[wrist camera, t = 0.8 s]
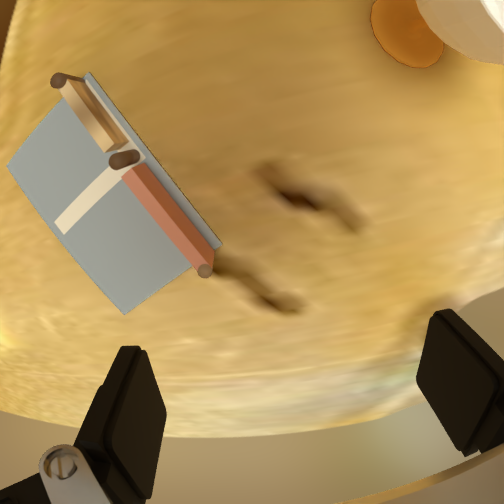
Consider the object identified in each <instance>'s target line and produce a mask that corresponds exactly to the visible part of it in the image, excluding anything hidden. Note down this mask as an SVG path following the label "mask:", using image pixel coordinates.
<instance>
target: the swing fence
mask: <svg viewBox="0 0 504 504" xmlns="http://www.w3.org/2000/svg"><path fill="white" fill-rule="evenodd" d="M121 178H122V179H123V181H124V182H125V183H126V185H127V186H128V187H129V188H130V190H131V191H132V192H133V194H134V195H135V196H136V197H137V199H138V200H139V201H140V202H141V204H142V205H143V206H144V207H145V209H146V210H147V211H148V212H149V214H150V215H151V216H152V217H153V219H154V220H155V221H156V222H157V224H158V225H159V226H160V227H161V228H162V230H163V231H164V232H165V233H166V235H167V236H168V237H169V238H170V239H171V241H172V242H173V243H174V244H175V245H176V247H177V248H178V249H179V250H180V251H181V253H182V254H183V255H184V256H185V257H186V259H187V260H188V261H189V262H190V263H191V265H192V266H193V267H194V268H195V269H196V270H197V272H198V274H199V276H200V277H202V278H208V277H210V276H211V274H212V268H213V262H214V255H215V251H214V250H213V249H212V247H211V246H210V245H209V244H208V242H207V241H206V240H205V239H204V237H203V236H202V235H201V234H200V232H199V231H198V230H197V229H196V227H195V226H194V225H193V224H192V222H191V221H190V220H189V219H188V217H187V216H186V215H185V214H184V212H183V211H182V210H181V209H180V207H179V206H178V205H177V204H176V202H175V201H174V200H173V199H172V197H171V196H170V195H169V193H168V192H167V191H166V190H165V188H164V187H163V186H162V185H161V183H160V182H159V181H158V179H157V178H156V177H155V176H154V174H153V173H152V172H151V170H150V169H149V168H148V167H147V165H146V164H145V163H142V164H140V165H137V166H135V167H132V168H131V169H129V170H128V171H127V172H126V173H125V174H124V175H123V176H122V177H121Z"/></svg>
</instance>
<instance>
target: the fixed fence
mask: <svg viewBox="0 0 504 504" xmlns="http://www.w3.org/2000/svg"><path fill="white" fill-rule="evenodd" d="M50 84H51V86H52V87H53V88H57V89H58V90H59V92H60V93H61V94H62V96H63V97H64V99H65V100H66V101H67V103H68V104H69V106H70V107H71V109H72V110H73V111H74V113H75V114H76V115H77V117H78V118H79V120H80V121H81V122H82V124H83V125H84V126H85V128H86V129H87V131H88V132H89V133H90V135H91V136H92V137H93V139H94V140H95V141H96V143H97V144H98V145H99V147H100V148H101V149H102V151H103V152H104V153H106V152H111V151H115V150H120V149H121V148H122V147H123V146H125V145H126V144H127V143H128V142H129V140H128V139H127V138H126V136H125V135H124V134H123V132H122V131H121V130H120V128H119V127H118V126H117V124H116V123H115V122H114V120H113V119H112V118H111V117H110V115H109V114H108V113H107V111H106V110H105V109H104V107H103V106H102V105H101V103H100V102H99V101H98V99H97V98H96V96H95V95H94V94H93V92H92V91H91V90H90V88H89V87H88V86H87V84H86V82H85V80H84V79H82V78H79V77H75V76H71V75H67V74H63V73H55V74H54V75H53V76H52V78H51V81H50ZM139 160H140V153H139V152H138V151H137V150H135V149H131V150H127V151H123V152H118V153H114V154H112V155H111V156H110V158H109V166H110V167H111V168H112V169H113V170H120V169H122V168H125V167H127V166H130V165H133V164H135V163H137V162H138V161H139Z"/></svg>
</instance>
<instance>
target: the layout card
mask: <svg viewBox="0 0 504 504" xmlns="http://www.w3.org/2000/svg"><path fill="white" fill-rule="evenodd" d="M82 79H84V80H85V82H86V84H87V86H88V87H89V88H90V90H91V91H92V92H93V94H94V95H95V96H96V98H97V99H98V101H99V102H100V103H101V105H102V106H103V107H104V109H105V110H106V111H107V113H108V114H109V115H110V117H111V118H112V119H113V120H114V122H115V123H116V124H117V126H118V127H119V128H120V130H121V131H122V132H123V134H124V135H125V136H126V138H127V139H128V140H129V142H128V143H127V144H126V145H125V146H123V147H122V148H121V149H120V150H115V151H111V152H106V153H104V152H103V151H102V149H101V148H100V147H99V145H98V144H97V143H96V141H95V140H94V139H93V137H92V136H91V135H90V133H89V132H88V131H87V129H86V128H85V126H84V125H83V124H82V122H81V121H80V120H79V118H78V117H77V115H76V114H75V113H74V111H73V110H72V109H71V107H70V106H69V104H68V103H67V101H66V100H65V99H64V97H63V98H62V99H61V100H60V101H59V102H58V103H57V104H56V106H55V107H54V108H53V109H52V110H51V111H50V112H49V113H48V114H47V116H46V117H45V118H44V119H43V120H42V121H41V122H40V124H39V125H38V126H37V127H36V128H35V130H34V131H33V132H32V133H31V134H30V136H29V137H28V138H27V139H26V141H25V142H24V143H23V144H22V146H21V147H20V148H19V149H18V151H17V152H16V153H15V155H14V156H13V157H12V159H11V160H10V162H9V163H8V164H7V168H8V169H9V171H10V173H11V174H12V176H13V177H14V179H15V180H16V182H17V183H18V185H19V186H20V188H21V189H22V190H23V192H24V193H25V195H26V196H27V198H28V199H29V201H30V202H31V203H32V205H33V206H34V208H35V209H36V210H37V212H38V213H39V214H40V216H41V217H42V218H43V220H44V221H45V222H46V224H47V225H48V226H49V228H50V229H51V230H52V232H53V233H54V234H55V236H56V237H57V238H58V239H59V241H60V242H61V243H62V244H63V246H64V247H65V248H66V249H67V251H68V252H69V253H70V254H71V256H72V257H73V258H74V259H75V260H76V262H77V263H78V264H79V265H80V266H81V268H82V269H83V270H84V271H85V272H86V273H87V275H88V276H89V277H90V278H91V279H92V280H93V282H94V283H95V284H96V285H97V286H98V287H99V288H100V289H101V291H102V292H103V293H104V294H105V295H106V296H107V297H108V298H109V299H110V301H111V302H112V303H113V304H114V305H115V306H116V307H117V308H118V309H119V310H120V311H121V312H122V313H123V314H124V315H125V314H126V313H128V312H129V311H131V310H132V309H133V308H135V307H136V306H137V305H139V304H140V303H142V302H143V301H144V300H146V299H147V298H148V297H150V296H151V295H153V294H154V293H155V292H157V291H158V290H159V289H161V288H162V287H164V286H165V285H166V284H168V283H169V282H171V281H172V280H173V279H175V278H176V277H177V276H179V275H180V274H182V273H183V272H184V271H186V270H187V269H189V268H190V267H191V266H192V265H191V263H190V262H189V261H188V260H187V259H186V257H185V256H184V255H183V254H182V253H181V251H180V250H179V249H178V248H177V247H176V245H175V244H174V243H173V242H172V241H171V239H170V238H169V237H168V236H167V235H166V233H165V232H164V231H163V230H162V228H161V227H160V226H159V225H158V224H157V222H156V221H155V220H154V219H153V217H152V216H151V215H150V214H149V212H148V211H147V210H146V209H145V207H144V206H143V205H142V204H141V202H140V201H139V200H138V199H137V197H136V196H135V195H134V194H133V192H132V191H131V190H130V188H129V187H128V186H127V185H126V183H125V182H124V181H123V179H122V178H121V177H122V176H123V175H124V174H125V173H126V172H127V171H128V170H129V169H131V168H132V167H135V166H137V165H140V164H142V163H145V164H146V165H147V167H148V168H149V169H150V170H151V172H152V173H153V174H154V176H155V177H156V178H157V179H158V181H159V182H160V183H161V185H162V186H163V187H164V188H165V190H166V191H167V192H168V193H169V195H170V196H171V197H172V199H173V200H174V201H175V202H176V204H177V205H178V206H179V207H180V209H181V210H182V211H183V212H184V214H185V215H186V216H187V217H188V219H189V220H190V221H191V222H192V224H193V225H194V226H195V227H196V229H197V230H198V231H199V232H200V234H201V235H202V236H203V237H204V239H205V240H206V241H207V242H208V244H209V245H210V246H211V247H212V249H213V250H215V249H217V248H218V247H220V246H221V245H222V242H221V241H220V240H219V239H218V237H217V236H216V235H215V234H214V232H213V231H212V230H211V229H210V227H209V226H208V225H207V224H206V222H205V221H204V220H203V218H202V217H201V216H200V215H199V213H198V212H197V211H196V210H195V208H194V207H193V206H192V205H191V203H190V202H189V201H188V199H187V198H186V197H185V196H184V194H183V193H182V192H181V190H180V189H179V188H178V187H177V185H176V184H175V183H174V182H173V180H172V179H171V178H170V176H169V175H168V174H167V173H166V171H165V170H164V169H163V167H162V166H161V165H160V164H159V162H158V161H157V160H156V158H155V157H154V156H153V154H152V153H151V152H150V151H149V149H148V148H147V147H146V145H145V144H144V143H143V142H142V140H141V139H140V138H139V136H138V135H137V134H136V132H135V131H134V130H133V128H132V127H131V126H130V125H129V123H128V122H127V121H126V119H125V118H124V117H123V115H122V114H121V113H120V111H119V110H118V109H117V107H116V106H115V105H114V104H113V102H112V101H111V100H110V98H109V97H108V96H107V94H106V93H105V92H104V90H103V89H102V88H101V86H100V85H99V84H98V82H97V81H96V80H95V78H94V77H93V76H92V74H91V73H90V72H88V73H87V74H86V75H85V76H84V77H83V78H82ZM131 149H135V150H137V151H138V152H139V153H140V160H139V161H138V162H137V163H135V164H133V165H130V166H127V167H125V168H122V169H120V170H113V169H112V168H111V167H110V166H109V158H110V156H111V155H112V154H114V153H118V152H123V151H127V150H131Z"/></svg>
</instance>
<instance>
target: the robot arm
mask: <svg viewBox="0 0 504 504" xmlns="http://www.w3.org/2000/svg"><path fill="white" fill-rule="evenodd" d="M416 382H417V385H418V387H419V388H420V390H421V391H422V393H423V395H424V396H425V398H426V399H427V401H428V403H429V404H430V406H431V407H432V409H433V410H434V412H435V414H436V415H437V417H438V419H439V420H440V422H441V424H442V426H443V427H444V429H445V431H446V432H447V434H448V436H449V437H450V439H451V441H452V442H453V444H454V446H455V447H456V449H457V450H458V451H461V452H462V453H463V455H464V457H467V456H469V455H471V454H473V453H475V452H477V451H478V449H479V450H480V452H481V454H480V455H478V456H476V457H474V458H472V459H470V460H468V461H465V462H463V463H461V464H459V465H456V466H454V467H452V468H450V469H447V470H445V471H442V472H440V473H437V474H434V475H432V476H429V477H426V478H424V479H421V480H418V481H415V482H412V483H409V484H406V485H403V486H400V487H397V488H394V489H390V490H387V491H383V492H380V493H377V494H373V495H369V496H365V497H361V498H357V499H353V500H348V501H344V502H339V503H334V504H504V361H503V359H502V358H501V357H500V356H499V355H498V354H497V353H496V352H495V351H494V350H493V349H492V348H491V347H490V346H489V345H488V344H487V343H486V342H485V341H484V340H483V339H482V338H481V337H480V336H479V335H478V334H477V333H476V332H475V331H474V330H473V329H472V328H471V327H470V326H469V325H468V324H467V323H466V322H465V321H464V320H462V319H461V318H460V317H459V316H458V315H457V314H456V313H455V312H454V311H453V310H452V309H444V310H440V311H436V312H435V313H434V314H433V316H432V317H431V318H430V320H429V325H428V329H427V334H426V339H425V343H424V347H423V352H422V356H421V360H420V364H419V368H418V372H417V375H416ZM166 417H167V413H166V408H165V405H164V402H163V399H162V396H161V394H160V391H159V388H158V385H157V382H156V379H155V376H154V373H153V370H152V367H151V364H150V361H149V358H148V355H147V352H146V351H145V350H141V348H140V346H121V348H120V349H119V351H118V353H117V356H116V358H115V360H114V362H113V364H112V366H111V368H110V370H109V372H108V374H107V377H106V379H105V381H104V383H103V385H101V386H100V387H99V389H98V390H97V392H96V395H95V397H94V399H93V401H92V403H91V406H90V408H89V410H88V412H87V415H86V417H85V419H84V421H83V424H82V426H81V428H80V431H79V433H78V435H77V438H76V440H75V443H74V445H73V446H71V445H67V444H63V445H57V446H54V447H52V448H50V449H48V450H47V451H46V452H45V453H44V454H43V455H42V457H41V459H40V462H39V473H37V474H35V475H33V476H31V477H28V478H27V479H24V480H22V481H20V482H18V483H15V484H13V485H11V486H9V487H6V488H4V489H2V490H0V504H145V502H146V499H150V498H151V496H152V491H153V485H154V479H155V474H156V469H157V463H158V458H159V452H160V447H161V442H162V437H163V432H164V427H165V422H166Z"/></svg>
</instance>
